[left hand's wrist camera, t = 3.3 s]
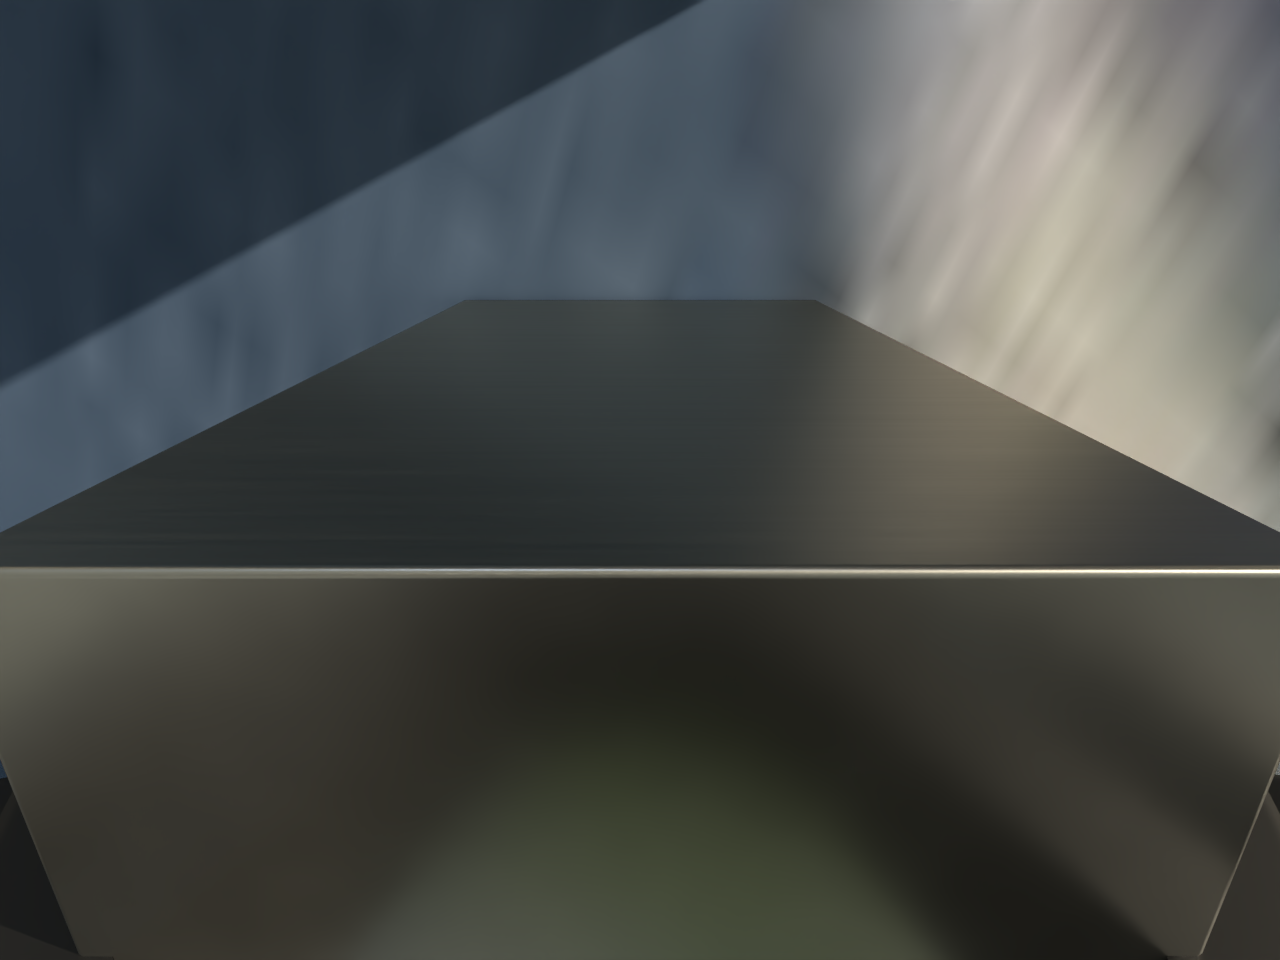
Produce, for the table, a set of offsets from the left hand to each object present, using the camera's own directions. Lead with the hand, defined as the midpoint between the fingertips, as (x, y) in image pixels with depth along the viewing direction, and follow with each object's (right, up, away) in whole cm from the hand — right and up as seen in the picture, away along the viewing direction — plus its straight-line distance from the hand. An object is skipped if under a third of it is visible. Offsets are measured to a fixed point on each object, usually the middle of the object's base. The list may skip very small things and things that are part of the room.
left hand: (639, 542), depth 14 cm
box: (0, -5, +6) cm, 8 cm away
